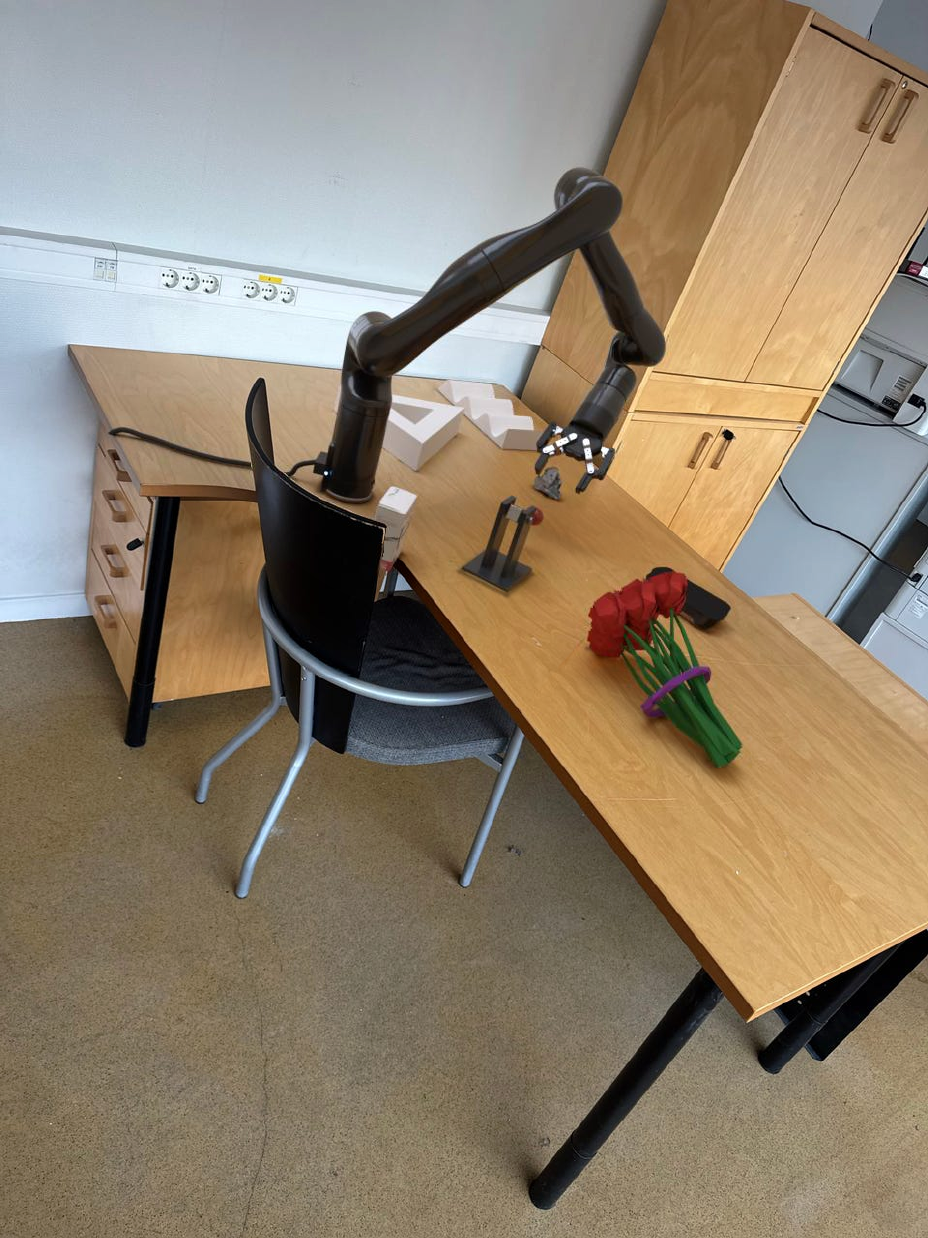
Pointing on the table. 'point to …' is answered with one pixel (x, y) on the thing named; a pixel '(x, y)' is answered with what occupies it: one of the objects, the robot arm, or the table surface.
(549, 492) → the crumpled paper
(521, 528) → the bracket
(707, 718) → the bouquet
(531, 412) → the table surface
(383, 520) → the ink box
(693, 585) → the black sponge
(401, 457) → the triangle block
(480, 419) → the file organizer
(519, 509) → the lever
